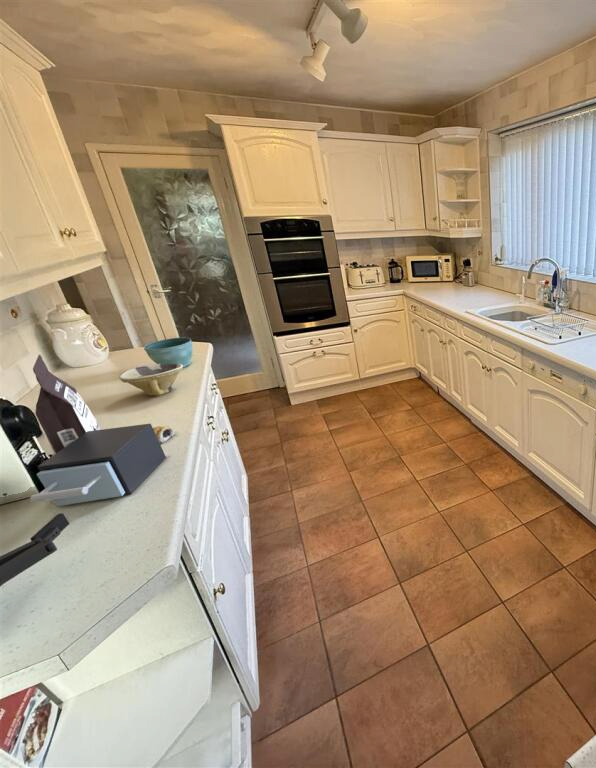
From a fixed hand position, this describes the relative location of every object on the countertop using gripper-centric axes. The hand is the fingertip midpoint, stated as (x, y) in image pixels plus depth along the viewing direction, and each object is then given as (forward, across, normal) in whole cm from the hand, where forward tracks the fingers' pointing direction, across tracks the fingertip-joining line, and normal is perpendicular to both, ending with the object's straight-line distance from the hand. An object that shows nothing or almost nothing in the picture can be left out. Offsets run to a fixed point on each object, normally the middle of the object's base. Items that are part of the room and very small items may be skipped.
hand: (20, 525), depth 75 cm
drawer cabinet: (+24, 0, +7) cm, 25 cm away
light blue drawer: (+19, 0, +6) cm, 20 cm away
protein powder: (+40, +16, +7) cm, 44 cm away
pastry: (+44, +1, +7) cm, 45 cm away
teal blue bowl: (+116, +27, +7) cm, 119 cm away
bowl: (+84, +19, +7) cm, 87 cm away
